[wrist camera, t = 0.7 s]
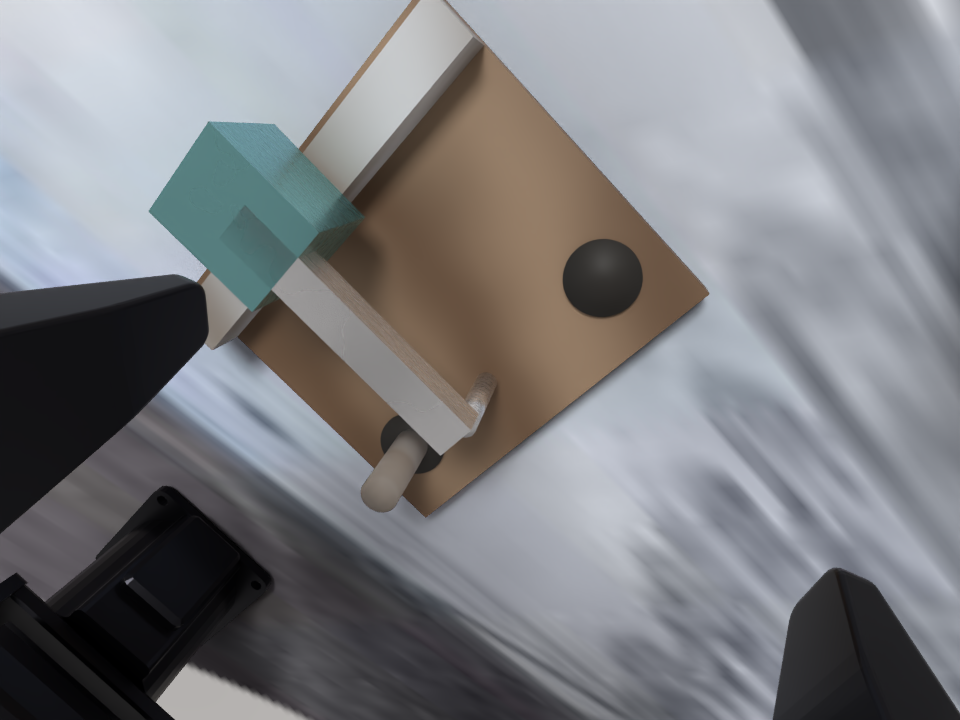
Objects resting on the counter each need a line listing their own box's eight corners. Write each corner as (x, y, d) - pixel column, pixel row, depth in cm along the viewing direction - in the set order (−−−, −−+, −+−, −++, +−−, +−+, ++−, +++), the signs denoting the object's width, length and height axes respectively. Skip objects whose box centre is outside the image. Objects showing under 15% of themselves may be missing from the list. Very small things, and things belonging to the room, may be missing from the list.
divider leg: (463, 415, 20) (427, 482, 16) (243, 196, 19) (148, 211, 15) (526, 361, 19) (504, 420, 15) (296, 124, 18) (209, 121, 14)
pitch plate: (432, 502, 24) (395, 580, 20) (207, 285, 22) (115, 318, 18) (704, 286, 19) (731, 328, 15) (436, -11, 17) (382, -57, 13)
